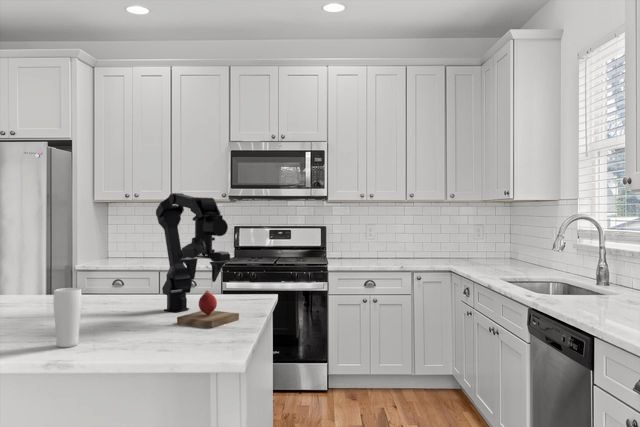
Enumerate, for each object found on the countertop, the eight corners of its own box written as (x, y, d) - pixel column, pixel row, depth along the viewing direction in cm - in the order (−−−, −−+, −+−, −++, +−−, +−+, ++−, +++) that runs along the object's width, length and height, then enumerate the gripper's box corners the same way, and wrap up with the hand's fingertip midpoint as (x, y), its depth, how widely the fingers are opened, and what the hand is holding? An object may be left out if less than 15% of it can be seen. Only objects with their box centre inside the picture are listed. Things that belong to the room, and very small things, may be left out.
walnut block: (177, 326, 164) (177, 317, 164) (205, 318, 176) (205, 309, 176) (212, 330, 157) (212, 321, 157) (238, 322, 170) (238, 313, 170)
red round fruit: (213, 316, 164) (212, 291, 164) (196, 316, 164) (195, 291, 165) (219, 313, 169) (218, 288, 170) (203, 313, 170) (201, 289, 170)
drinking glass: (59, 342, 140) (59, 287, 140) (85, 342, 140) (85, 287, 140) (48, 349, 133) (49, 291, 133) (75, 348, 134) (75, 291, 134)
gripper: (165, 234, 170) (165, 281, 170) (209, 236, 161) (209, 286, 162) (188, 233, 180) (188, 277, 180) (231, 235, 171) (230, 281, 171)
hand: (203, 280), depth 173 cm, fingers open, 9 cm apart
